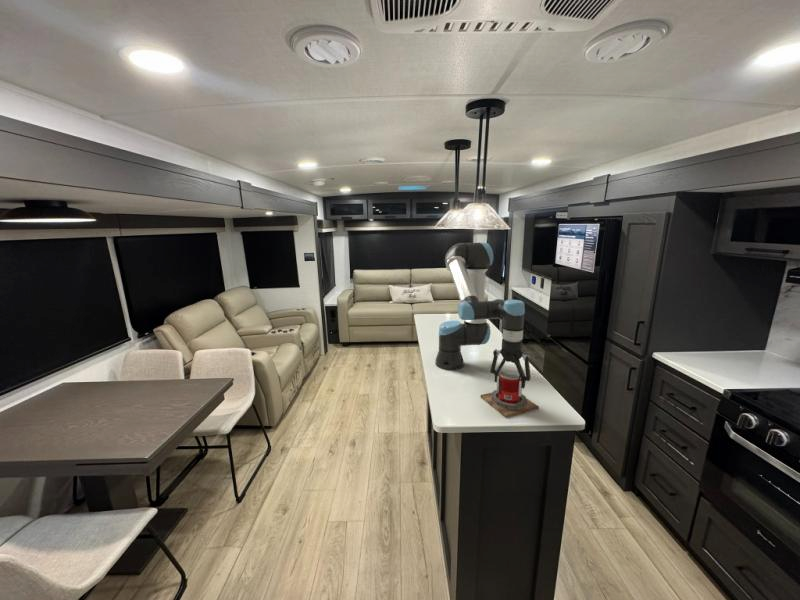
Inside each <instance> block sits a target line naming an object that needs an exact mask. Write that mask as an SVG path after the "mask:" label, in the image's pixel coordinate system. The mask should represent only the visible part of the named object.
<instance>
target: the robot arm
mask: <svg viewBox="0 0 800 600" xmlns="http://www.w3.org/2000/svg"><path fill="white" fill-rule="evenodd" d="M444 257H445V258H444V265H445V267H446V269H447V271H448V272H449V273H450V275H451V279H452V281H453V284H454V286H455V290H456V293H457V296H458V299H459V304H458V307H457V314H458V318H459V319H460V320H462V321H463V323H462V322H461V321H459V320H448V321H444V322H442V323H441V324H440V325H439V326H438V327H439V328H438V351H437V354H436V357H435V360H434V361H435V366H436V367H438V368H440V369H442V370H443V369H444V370H448V371H451V370H459V369H461V368H463V367H464V365H465V363H464V358H463V354H462V352H461V350H462V349H461V348H462V347H463V346H480V345H485V344H487V343H488V342H489V340H490V338H491V327H490V324H489V323H488V322H487V320H497V319H498V320H502V333H501V335H502V339H501V349H496V348H495V349H494V350H493V359H492V363H491V367H490V371H489V372H490V374H493V376H494V383H496V389H495V390H496V391H499V376H500V372H501V371H502V369H503V366H504V365H505V363H506V362H507V363H508V362H509V363H512V364H514V365H515V367H516V369H517V372H518V373H519V375H520V381H519V394H518V396H521V394H523V393H522V392H523V391H522V390H525V387H526V382H530V380H531V377H532V376H531V368H530V357H531V355H530V354H524V353H523V338H524V322H525V313H526V310H525V302H524V301H522V300H518V299H506V300H505V299H501V298H496V299H493V300H486V301H485V289H486V288H485V287H486V286H485V285H486V273H487V271H488V270H489V266H492V265H493V262H494V252H493V248H492V246H491V244H490V243H487V242H460V243H456V244H454V245H452V246H451V247H450V248H449V249H448V250H447V252H446V253H445V256H444ZM500 355H501V356H502V358H503V359H502V360H501V361H500V363H499V365H498V367H497V368H496V366H497V363H498V358H499V356H500ZM521 358H522V360H523V361H524V369H523V366H522V364H521V361H520V359H521ZM524 370H525V371H524Z"/></svg>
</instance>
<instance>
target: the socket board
mask: <svg viewBox="0 0 800 600" xmlns="http://www.w3.org/2000/svg"><path fill="white" fill-rule="evenodd" d="M480 399H482V400H483V401H484V402H485V403H487V404H488V405H489V406H491V407H492V408H493V409H494V411H497V412H498V413H499V414H500V415H501V416H503V418H506V419H507V418H508V417H513V416H516V415H517V416H518V415H521V414H526V413H528V412H529V413H530V412H533V411H536V410H539V408H540V407H539V406H540V405H538V404H536V403H534V402H533V401H532V400H530V399H528V398H527V397H526V395H524V394H523V393H522V394H521V396H519V400H518V401H517V402H516V403H506V402H503V401H501V400H500V399H499V391H496V389H495V390H493V391H492V392H487V393H483V394H480Z"/></svg>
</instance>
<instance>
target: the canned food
mask: <svg viewBox="0 0 800 600" xmlns="http://www.w3.org/2000/svg"><path fill="white" fill-rule="evenodd" d="M499 374H500V376H499V399H500V400H501V401H503V402H506V403H516V402H517V401H518V400H519V396H518V394H519V381H520V379H521V377H520V375H519V372H518V371H515V370H510V369H505V370H500V372H499Z"/></svg>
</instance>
